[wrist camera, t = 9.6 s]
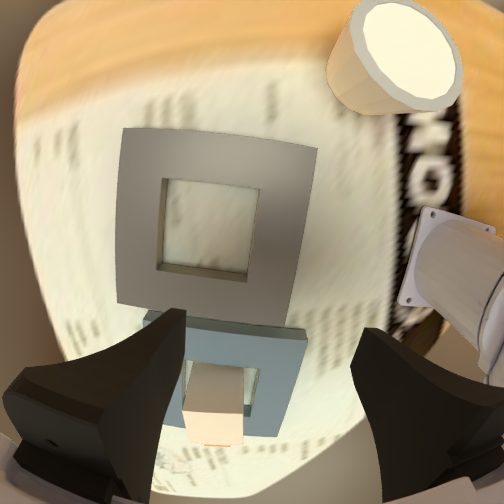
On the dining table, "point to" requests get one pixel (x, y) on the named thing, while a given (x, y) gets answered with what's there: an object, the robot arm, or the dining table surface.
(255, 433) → the socket
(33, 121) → the dining table surface
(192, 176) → the socket
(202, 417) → the plug
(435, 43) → the cream tapered cup
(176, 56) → the dining table surface
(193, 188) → the dining table surface
